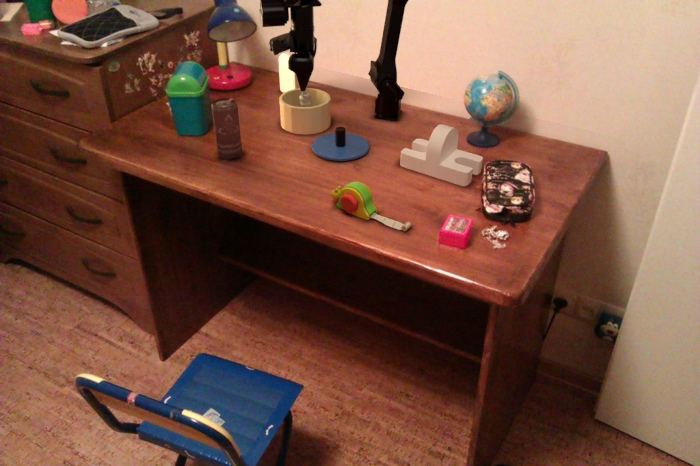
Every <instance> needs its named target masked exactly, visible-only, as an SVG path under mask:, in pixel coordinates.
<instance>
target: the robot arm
mask: <svg viewBox="0 0 700 466" xmlns="http://www.w3.org/2000/svg"><path fill="white" fill-rule="evenodd" d="M409 1H410V0H387V5H386V11H385V12H386V13H385V19H384V25H383V30H382V37H381V43H380V48H379V53H378V57H377V58H376V60H373V59H372V60H370V63H369V64H370V67H369V71H368V73H367V75H368V76H369V79H370V82H371V83H372V85H373V86H374V87H375V89H376V91H378V93H377V94H376V98H375V99H374V113H375V114H374V118H375V119H380V120H388V121H393V122H395V121H398V120H399V118H400V117H401V115H402V113H403V110H402V100H403V98H404V96H405V91H404V90H403V89H402V87H400V85H399V84H398V69H397V63H396V59H397V54H398V52H397V51H398V48H399V43H400V37H401V31H402V27H403V26H402V25H403V21H404V14H405V11H406V6H407V4H408V2H409ZM322 6H323V5H322V2H321V1H320V0H259V20H260V26H261V28H271V27H273V28H274V27H285V26H286V24H288V22H289V21H290V30H289V31H288V32H287V33H286V32H285V33H283V34H279V35H277V36H274V37H272V38H270V39H269V42H268V46H269V51H270V52H272V55H273V56H278V55H280V54H282V53H285V52H287V51H289V53H291V54H292V55H291V56H290V57H289V60H288V69H290V71H293V72H294V73H295V74H296V76H297V79H298V83H299V86H300V90H301V91H305V90H306V88H308V84H309V82H310V79H311V77H312V74H313V72H314V68H315V58H316V57H315V56H316V54H317V50H318V38H316V36H315V18H314V17H315V15H314V13H315V11H314V7H315V8H316V7H322ZM289 11H290V13H289Z"/></svg>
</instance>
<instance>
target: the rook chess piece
mask: <svg viewBox="0 0 700 466" xmlns="http://www.w3.org/2000/svg"><path fill="white" fill-rule="evenodd" d="M299 99H300V100H301V102H300V104H301V107H310V99H311V96H310V94H309V93H308V94H307V93H306V92H305V94H304V93H302V94H300V97H299Z"/></svg>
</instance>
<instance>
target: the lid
mask: <svg viewBox="0 0 700 466" xmlns="http://www.w3.org/2000/svg"><path fill="white" fill-rule="evenodd" d="M334 128H335V129H334V132H328V133H325V134H321V135H320V136H317V137H316V138H315V139H313V141H312V142H311V150H312V152H313V153H314V154H315V155H316V156H318V157H319V158H322V159H324V160H327V161H336V162H338V161H339V162H345V161H352V160H356V159H359V158H361V157H364V156H365V155H367V153H369V150H370V143H369V141H368V140H367V139H366V137H365V138H364V137H363V136H362V135H359V134H357V133H356V134H355V133H352V132H347V130H346V127H344V126H336V127H334Z"/></svg>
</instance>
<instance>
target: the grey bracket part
mask: <svg viewBox="0 0 700 466" xmlns="http://www.w3.org/2000/svg"><path fill="white" fill-rule="evenodd" d="M458 145H459V130H458V129H457V128H456V127H454V126H450V125H446V124H443V123H440V124H437V126H436V127H434V129H433V130H432V132H431V135H430V137H429V139H428V140H427V139H424V138H415V140H413V141H412V142H411V148H407V147H404V148H403V149H402V150H401V151H400V158H399V166H400V167H402V168H405V169H408V170H411V171H413V172H416V173H420V174H423V175H426V176H430V177H432V178H436V179H438V180H442V181H445V182H448V183H450V184H455V185H457V186H461V187H467V186H469V185H470V184H471V183H472V179H473V175H475V176H479V175H480V174H481V172H482V168H483V160H484V157H483V156H482V155H479V154H475V153H471V152H468V151H466V150H461V149H458Z"/></svg>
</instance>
